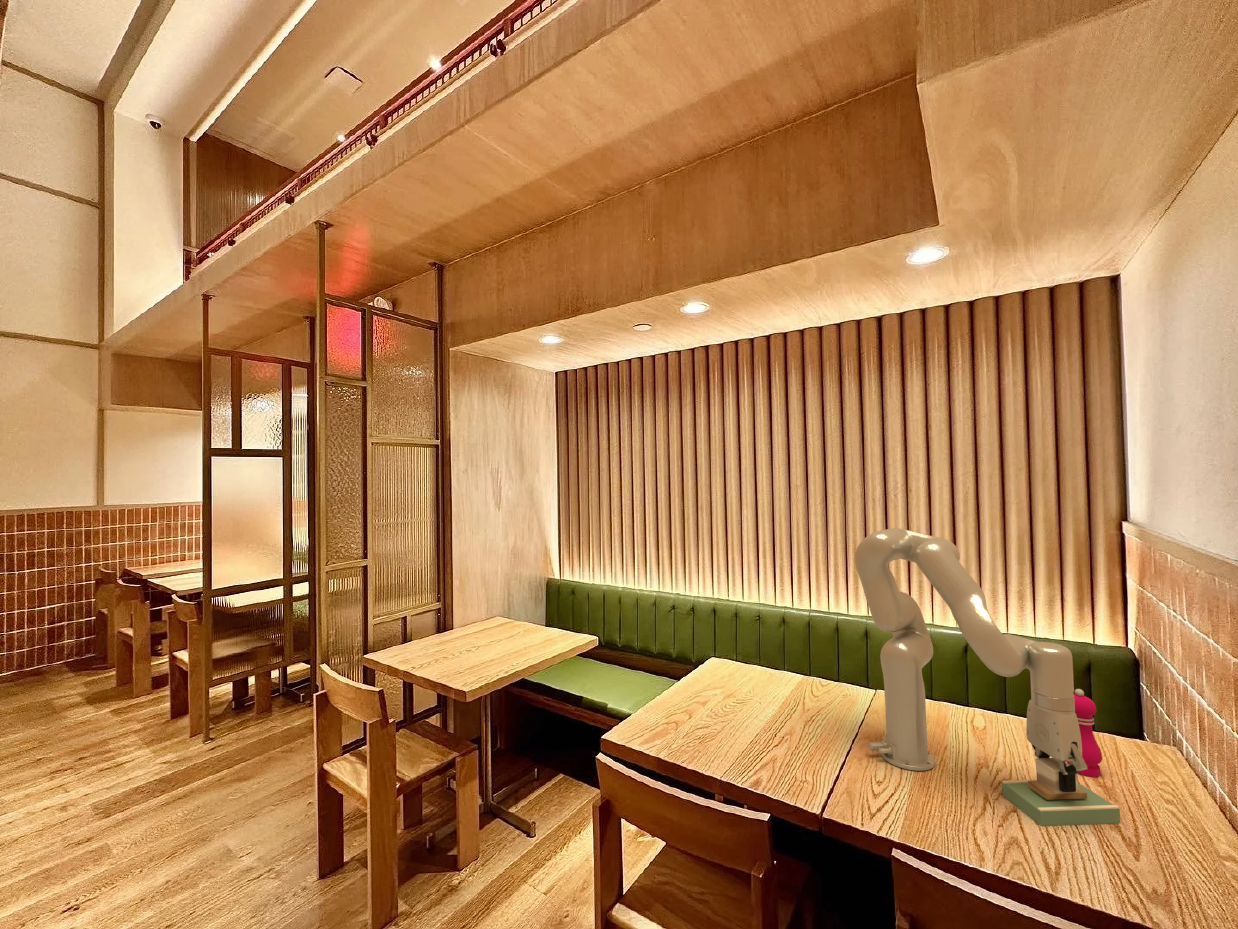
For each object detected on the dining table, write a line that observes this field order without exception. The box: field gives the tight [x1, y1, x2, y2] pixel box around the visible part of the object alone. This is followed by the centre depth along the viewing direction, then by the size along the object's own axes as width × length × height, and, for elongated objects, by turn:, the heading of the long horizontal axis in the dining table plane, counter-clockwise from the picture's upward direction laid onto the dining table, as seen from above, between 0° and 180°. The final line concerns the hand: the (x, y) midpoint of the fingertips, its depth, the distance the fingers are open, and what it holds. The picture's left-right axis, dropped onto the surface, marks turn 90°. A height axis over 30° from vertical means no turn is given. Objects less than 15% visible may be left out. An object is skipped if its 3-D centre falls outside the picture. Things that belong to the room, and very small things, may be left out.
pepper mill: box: [1066, 688, 1103, 778], centre depth 132 cm, size 7×7×20 cm
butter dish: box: [1028, 757, 1087, 800], centre depth 117 cm, size 9×5×6 cm, turn 91°
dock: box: [1001, 778, 1121, 827], centre depth 117 cm, size 17×11×3 cm, turn 91°
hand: (1056, 783), depth 117 cm, fingers closed on butter dish, 5 cm apart
